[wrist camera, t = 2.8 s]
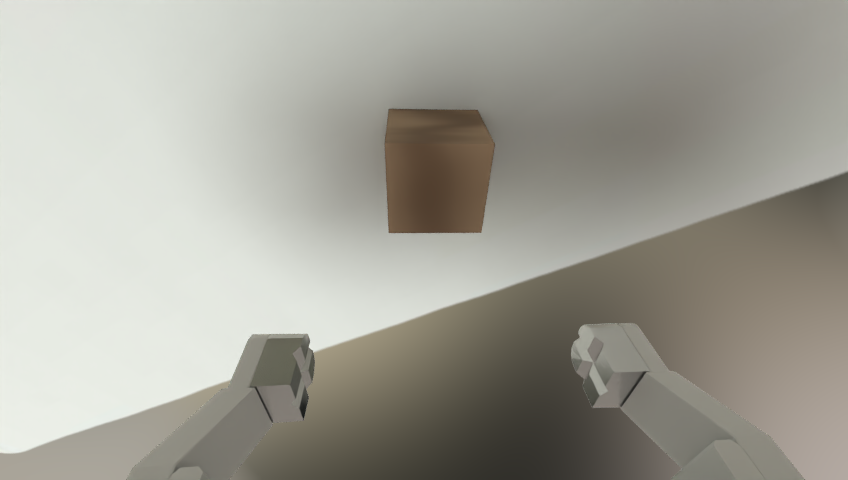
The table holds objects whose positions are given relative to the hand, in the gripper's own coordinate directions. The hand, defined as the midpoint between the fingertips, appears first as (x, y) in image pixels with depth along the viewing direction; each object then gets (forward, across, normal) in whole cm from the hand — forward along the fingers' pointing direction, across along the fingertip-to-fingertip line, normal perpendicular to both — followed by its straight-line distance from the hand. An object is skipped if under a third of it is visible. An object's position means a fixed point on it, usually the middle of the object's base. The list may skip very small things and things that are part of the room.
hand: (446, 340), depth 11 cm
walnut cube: (+14, 0, 0) cm, 14 cm away
